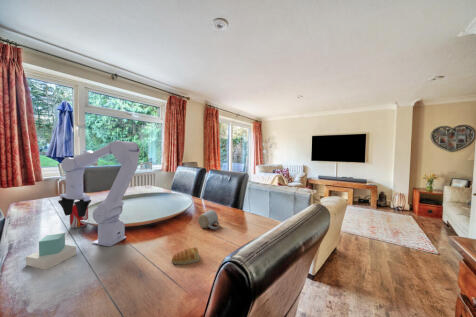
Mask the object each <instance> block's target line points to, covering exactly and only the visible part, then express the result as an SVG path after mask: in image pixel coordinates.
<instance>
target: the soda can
mask: <svg viewBox="0 0 476 317" xmlns="http://www.w3.org/2000/svg"><path fill="white" fill-rule="evenodd" d="M87 219H88V220H89V206H88V207H87V210H86V213H85V216H83V217H78V212H77V208H76V205H75V204H74V203H73V209H72V214H71V215H69V227H70V228H73V229H79V228H84V227H86V225H87V224H86V223H84V222H82V221H80V220H87Z"/></svg>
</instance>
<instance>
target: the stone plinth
mask: <svg viewBox="0 0 476 317" xmlns="http://www.w3.org/2000/svg"><path fill="white" fill-rule="evenodd" d="M76 255H77V246H76V245H70V244H65V247H64V248H63V249H62V250H61V251H60V252H59V253H56V254H50V255H44V256H39V250H38V251H35V252H33V253H31V254H29V255H26V256H25V265H26V266H29V267H33V268H36V269H41V270H48V269H50V268H52V267H54V266H57V265H58V264H60V263H63V262H65V261H66V260H68V259H70V258H72V257H74V256H76Z"/></svg>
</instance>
